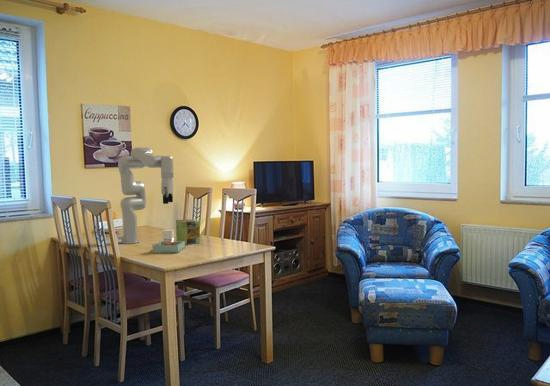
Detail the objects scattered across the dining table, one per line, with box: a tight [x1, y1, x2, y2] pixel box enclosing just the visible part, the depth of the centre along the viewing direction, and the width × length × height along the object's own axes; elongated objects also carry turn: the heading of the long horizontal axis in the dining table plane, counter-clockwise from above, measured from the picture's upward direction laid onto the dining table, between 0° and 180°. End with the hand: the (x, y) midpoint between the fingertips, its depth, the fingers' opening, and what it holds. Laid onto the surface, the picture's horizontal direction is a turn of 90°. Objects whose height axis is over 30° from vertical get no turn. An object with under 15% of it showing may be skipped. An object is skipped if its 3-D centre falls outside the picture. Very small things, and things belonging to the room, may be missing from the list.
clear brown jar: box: [163, 237, 175, 246], centre depth 297 cm, size 6×6×7 cm
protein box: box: [175, 218, 201, 246], centre depth 324 cm, size 10×15×16 cm
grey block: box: [161, 228, 176, 240], centre depth 297 cm, size 6×6×5 cm
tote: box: [152, 240, 186, 254], centre depth 297 cm, size 16×16×4 cm
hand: (168, 202), depth 295 cm, fingers open, 9 cm apart
